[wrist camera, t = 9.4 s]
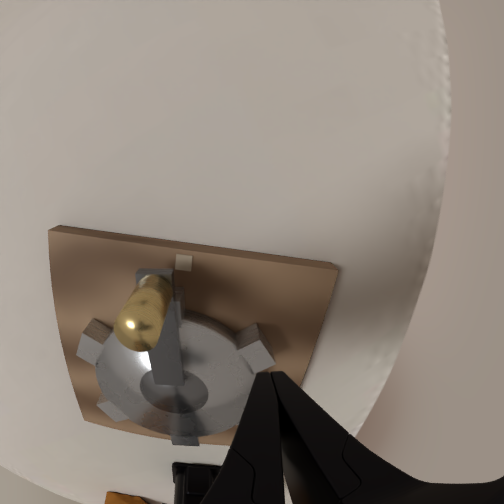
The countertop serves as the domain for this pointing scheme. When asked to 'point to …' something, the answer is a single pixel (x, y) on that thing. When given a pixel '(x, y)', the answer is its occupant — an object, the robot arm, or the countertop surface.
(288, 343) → the walnut base
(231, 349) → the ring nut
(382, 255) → the countertop surface
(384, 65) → the countertop surface
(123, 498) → the coffee package
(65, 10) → the countertop surface
